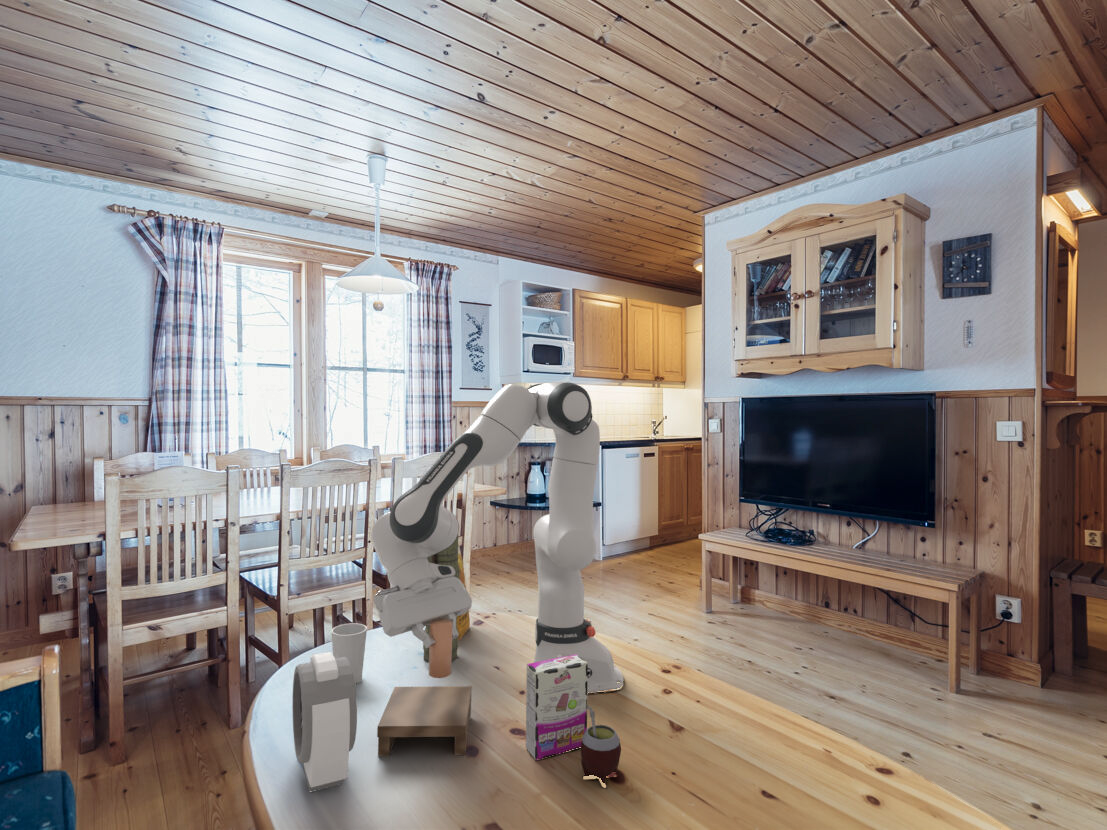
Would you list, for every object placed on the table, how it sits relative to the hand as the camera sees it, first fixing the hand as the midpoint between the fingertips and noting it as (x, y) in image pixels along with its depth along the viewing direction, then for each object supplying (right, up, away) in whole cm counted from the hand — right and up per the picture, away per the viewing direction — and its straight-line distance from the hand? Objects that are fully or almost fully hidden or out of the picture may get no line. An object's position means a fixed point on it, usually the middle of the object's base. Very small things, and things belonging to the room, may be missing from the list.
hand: (443, 641), depth 119 cm
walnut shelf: (-3, -18, -1) cm, 19 cm away
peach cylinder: (-1, -6, 0) cm, 6 cm away
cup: (-27, -18, +23) cm, 39 cm away
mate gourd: (+30, -19, -13) cm, 38 cm away
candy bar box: (+22, -19, -4) cm, 30 cm away
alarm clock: (-19, -18, -13) cm, 29 cm away
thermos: (-8, -18, +37) cm, 42 cm away
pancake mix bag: (-7, -18, +54) cm, 58 cm away
